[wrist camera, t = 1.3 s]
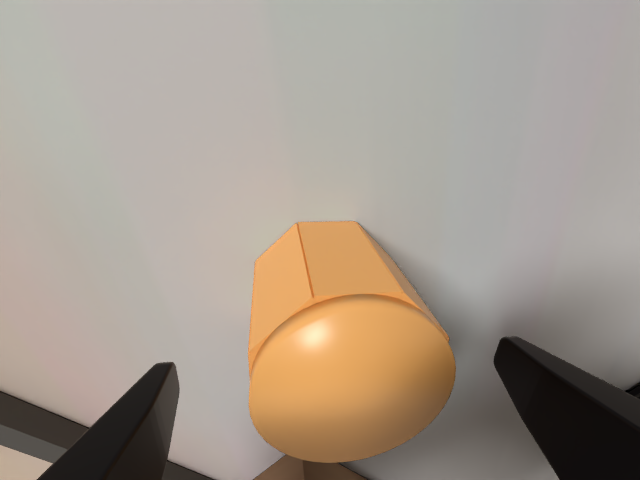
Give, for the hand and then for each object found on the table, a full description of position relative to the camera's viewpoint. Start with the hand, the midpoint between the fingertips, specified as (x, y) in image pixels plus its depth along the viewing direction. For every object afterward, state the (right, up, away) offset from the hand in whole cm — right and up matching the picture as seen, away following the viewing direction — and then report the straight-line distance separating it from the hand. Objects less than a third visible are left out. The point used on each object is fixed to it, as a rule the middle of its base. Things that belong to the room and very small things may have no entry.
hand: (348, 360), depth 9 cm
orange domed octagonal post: (-1, +2, +3) cm, 4 cm away
